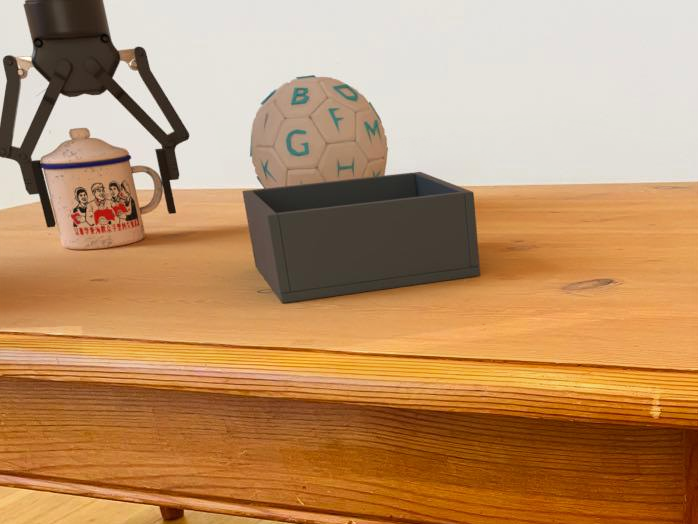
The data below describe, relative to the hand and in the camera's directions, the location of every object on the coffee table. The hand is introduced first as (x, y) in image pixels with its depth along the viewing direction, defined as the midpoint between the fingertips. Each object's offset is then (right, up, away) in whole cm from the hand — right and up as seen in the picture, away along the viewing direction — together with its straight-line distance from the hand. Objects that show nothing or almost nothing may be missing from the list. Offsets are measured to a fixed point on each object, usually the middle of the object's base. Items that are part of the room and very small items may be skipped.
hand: (112, 218), depth 117 cm
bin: (+31, -11, -22) cm, 40 cm away
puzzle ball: (+22, +2, +6) cm, 23 cm away
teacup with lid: (0, -2, +1) cm, 2 cm away
